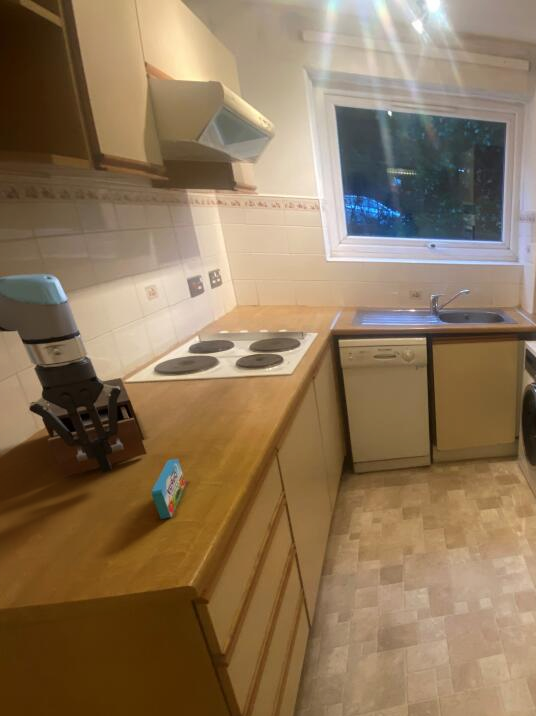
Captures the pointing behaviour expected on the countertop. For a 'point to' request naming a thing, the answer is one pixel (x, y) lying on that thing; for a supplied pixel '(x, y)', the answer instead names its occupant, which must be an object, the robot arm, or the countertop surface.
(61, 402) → the robot arm
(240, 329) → the countertop surface
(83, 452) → the drawer
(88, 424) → the block
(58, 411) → the cabinet
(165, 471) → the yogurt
